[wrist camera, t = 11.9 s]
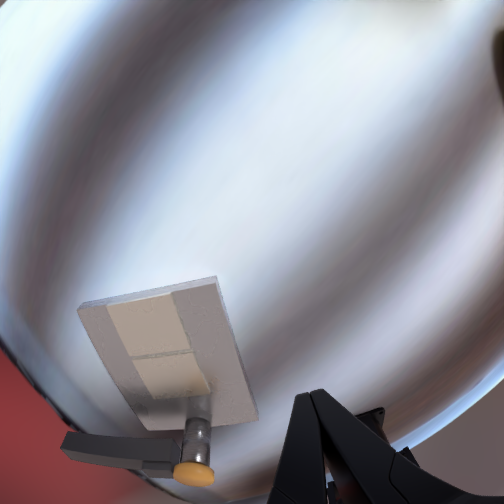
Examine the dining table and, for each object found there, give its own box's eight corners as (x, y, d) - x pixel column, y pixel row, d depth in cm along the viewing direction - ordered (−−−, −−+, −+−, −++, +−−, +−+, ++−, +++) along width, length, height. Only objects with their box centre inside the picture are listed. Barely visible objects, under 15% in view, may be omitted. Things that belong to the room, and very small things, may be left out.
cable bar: (209, 433, 20) (207, 470, 16) (219, 451, 21) (218, 486, 17) (64, 427, 20) (52, 453, 16) (80, 445, 21) (70, 471, 17)
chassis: (259, 415, 24) (265, 468, 18) (152, 425, 24) (141, 473, 18) (216, 275, 19) (209, 325, 13) (83, 302, 19) (44, 346, 13)
